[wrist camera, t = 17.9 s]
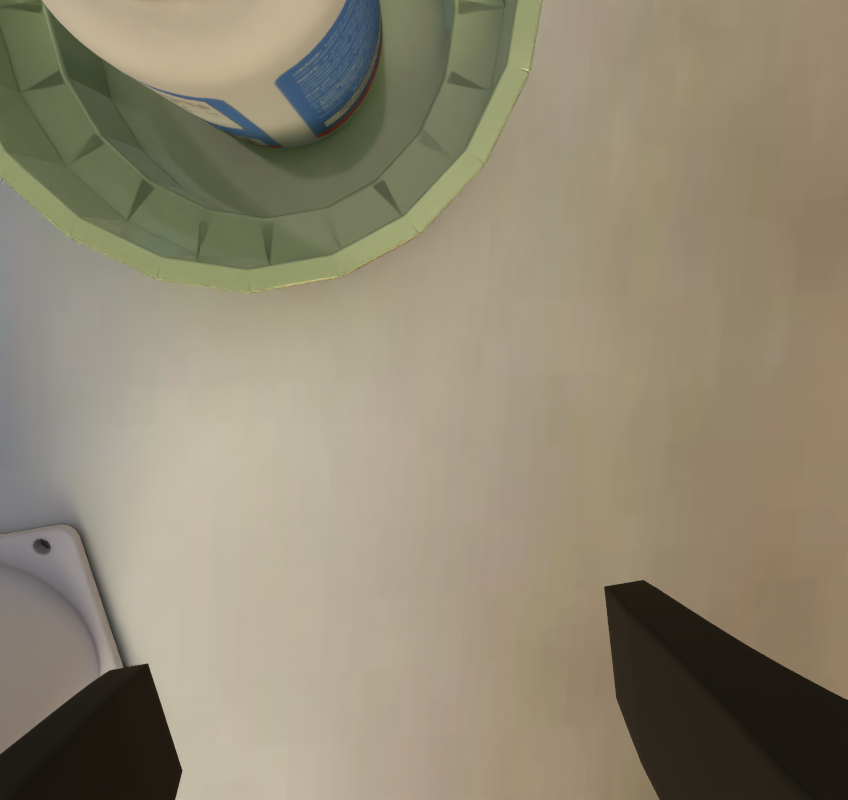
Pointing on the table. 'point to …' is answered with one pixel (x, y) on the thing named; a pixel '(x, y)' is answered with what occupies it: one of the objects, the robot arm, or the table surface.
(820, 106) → the table surface
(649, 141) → the table surface
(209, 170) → the green pet bowl
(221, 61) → the pill bottle
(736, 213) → the table surface
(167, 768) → the robot arm
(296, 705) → the table surface
